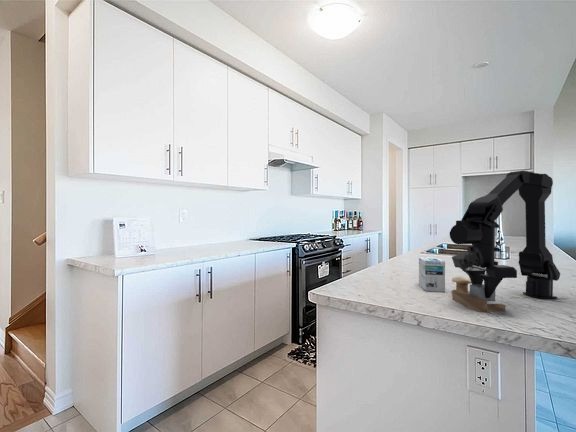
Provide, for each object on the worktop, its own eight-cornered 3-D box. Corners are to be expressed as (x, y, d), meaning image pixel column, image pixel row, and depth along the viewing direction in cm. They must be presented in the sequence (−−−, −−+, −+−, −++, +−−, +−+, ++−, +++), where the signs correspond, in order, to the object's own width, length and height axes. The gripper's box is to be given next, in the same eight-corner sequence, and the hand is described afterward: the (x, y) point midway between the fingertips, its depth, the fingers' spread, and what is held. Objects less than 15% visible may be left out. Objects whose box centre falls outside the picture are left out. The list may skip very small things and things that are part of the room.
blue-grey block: (485, 297, 92) (485, 284, 92) (495, 301, 88) (495, 287, 88) (469, 297, 92) (469, 284, 92) (478, 301, 88) (478, 287, 88)
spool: (464, 291, 106) (464, 277, 105) (476, 296, 100) (476, 281, 100) (448, 291, 105) (448, 277, 105) (459, 296, 99) (459, 281, 99)
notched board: (477, 299, 96) (477, 289, 96) (507, 311, 84) (507, 300, 84) (452, 299, 96) (452, 290, 96) (478, 311, 84) (479, 301, 84)
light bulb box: (445, 292, 104) (445, 261, 104) (424, 291, 106) (424, 260, 106) (436, 285, 115) (437, 256, 115) (417, 284, 116) (418, 256, 116)
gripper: (438, 240, 99) (438, 288, 99) (479, 247, 80) (478, 306, 80) (471, 240, 100) (471, 288, 100) (519, 246, 81) (518, 305, 81)
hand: (482, 295), depth 90 cm, fingers closed on blue-grey block, 4 cm apart
